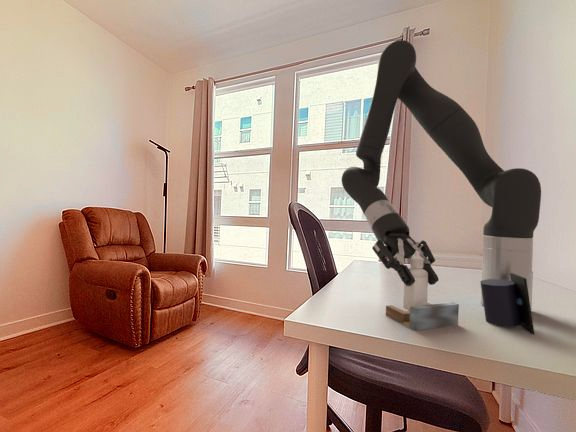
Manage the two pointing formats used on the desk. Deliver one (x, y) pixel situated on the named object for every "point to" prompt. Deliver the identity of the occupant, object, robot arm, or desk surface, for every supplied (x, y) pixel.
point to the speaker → (507, 302)
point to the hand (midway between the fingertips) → (423, 283)
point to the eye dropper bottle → (416, 284)
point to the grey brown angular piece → (425, 315)
